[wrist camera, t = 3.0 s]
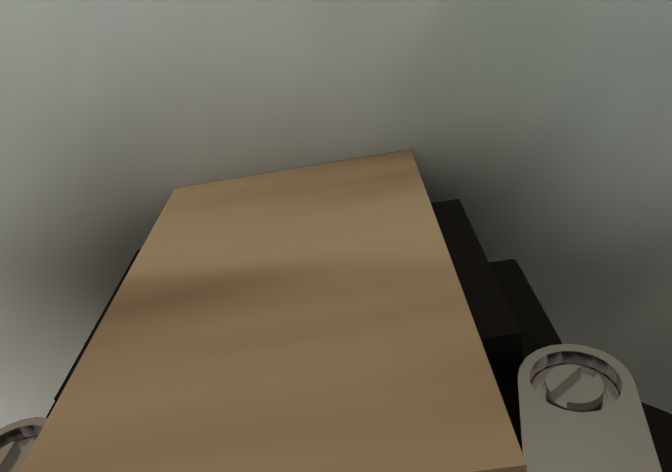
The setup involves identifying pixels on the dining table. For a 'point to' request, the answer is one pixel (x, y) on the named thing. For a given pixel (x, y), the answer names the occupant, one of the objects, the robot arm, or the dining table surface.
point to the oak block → (287, 338)
